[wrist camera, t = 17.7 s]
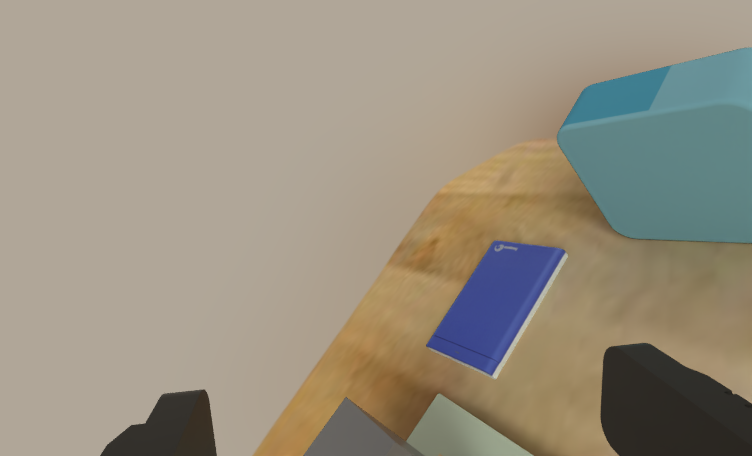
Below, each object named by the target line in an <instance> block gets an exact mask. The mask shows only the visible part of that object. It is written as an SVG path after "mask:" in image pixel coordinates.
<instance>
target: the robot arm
mask: <svg viewBox="0 0 752 456" xmlns="http://www.w3.org/2000/svg"><path fill="white" fill-rule="evenodd" d="M601 424H602V428H603V431H604V434H605V436H606V439H607V441H608V442H609V444H610V446H611V447H612V448H613V449H614V450H615V452H616V453H617V454H618V455H619V456H752V404H751V403H750V402H748V401H747V400H745V399H744V398H742V397H740V396H739V395H737V394H732V391H731V390H729V389H728V388H726V387H725V386H723V385H722V384H720V383H718V382H717V381H715V380H714V379H712V378H711V377H709V376H707V375H705V374H702V373H700V372H697V371H695V370H692V369H690V368H687V367H685V366H683V365H682V364H680V363H679V362H677V361H676V360H674V359H673V358H671V357H669V356H668V355H666V354H665V353H663V352H662V351H660V350H659V349H657V348H656V347H654V346H653V345H651V344H648V343H639V344H630V345H621V346H612V347H609V348H608V349H607V350H606V352H605V354H604V360H603V377H602V396H601ZM100 456H217V454H216V447H215V439H214V432H213V425H212V418H211V410H210V403H209V398H208V394H207V392H206V391H205V390H195V391H186V392H176V393H167V394H163V395H162V396H161V397H160V399H159V400H158V402H157V404H156V406H155V408H154V409H153V411H152V413H151V414H150V416H149V418H148V420H147V421H146V423H145V424H138V425H131V426H130V427H129V428H127V429H126V430H125V431H124V432H122V433H121V434H120V435H119V436H118V437H117V438H115V439H114V440H113V441H112V442H110V443H109V444H108V445H107V446H106V448H105V449H104V451H103V452H102V454H101V455H100Z"/></svg>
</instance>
